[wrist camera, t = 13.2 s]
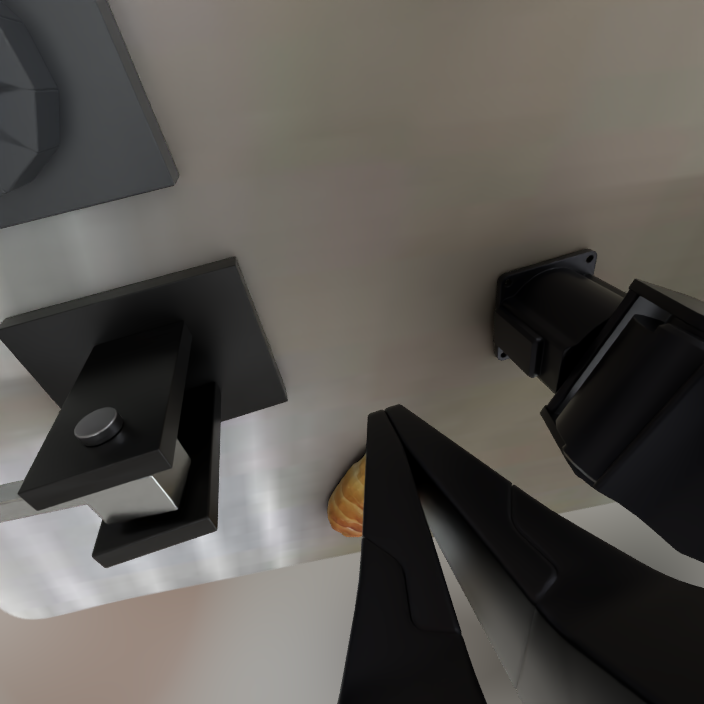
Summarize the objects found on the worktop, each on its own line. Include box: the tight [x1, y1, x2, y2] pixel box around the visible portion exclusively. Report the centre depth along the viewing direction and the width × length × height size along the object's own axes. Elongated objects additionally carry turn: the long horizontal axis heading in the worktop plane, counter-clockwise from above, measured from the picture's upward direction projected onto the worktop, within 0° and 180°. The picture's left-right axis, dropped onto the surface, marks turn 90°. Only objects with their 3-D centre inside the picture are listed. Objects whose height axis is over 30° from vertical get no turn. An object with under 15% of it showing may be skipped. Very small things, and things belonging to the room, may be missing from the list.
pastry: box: [327, 453, 366, 537], centre depth 31 cm, size 9×7×4 cm
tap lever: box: [0, 439, 191, 524], centre depth 15 cm, size 14×6×2 cm, turn 101°
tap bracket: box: [0, 257, 288, 568], centre depth 18 cm, size 11×9×10 cm
